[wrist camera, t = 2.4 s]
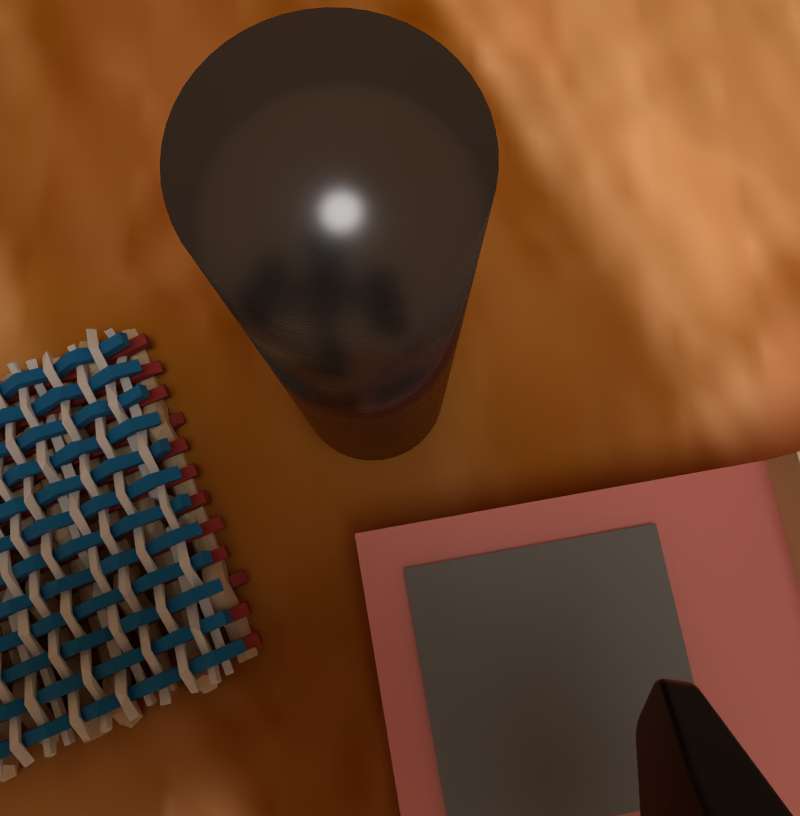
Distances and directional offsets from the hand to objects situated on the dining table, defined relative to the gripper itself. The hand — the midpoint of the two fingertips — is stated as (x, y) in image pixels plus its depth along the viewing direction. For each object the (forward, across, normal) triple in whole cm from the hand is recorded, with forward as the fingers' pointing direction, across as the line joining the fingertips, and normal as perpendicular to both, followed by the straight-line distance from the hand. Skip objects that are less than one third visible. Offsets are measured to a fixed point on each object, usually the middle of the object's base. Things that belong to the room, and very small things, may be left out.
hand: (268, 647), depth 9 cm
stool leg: (+12, 0, +4) cm, 13 cm away
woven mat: (+9, +9, +9) cm, 15 cm away
